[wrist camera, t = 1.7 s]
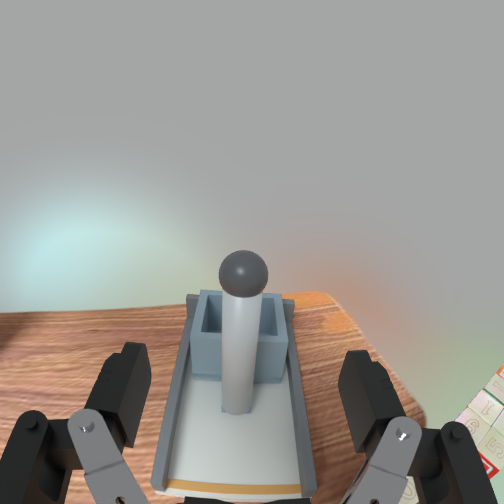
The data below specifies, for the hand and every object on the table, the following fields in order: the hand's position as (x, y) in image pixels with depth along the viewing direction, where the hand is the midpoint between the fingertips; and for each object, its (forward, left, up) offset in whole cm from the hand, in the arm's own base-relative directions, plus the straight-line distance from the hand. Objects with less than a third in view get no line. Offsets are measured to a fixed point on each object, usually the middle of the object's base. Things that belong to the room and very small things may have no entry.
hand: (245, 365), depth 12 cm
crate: (0, +17, -19) cm, 26 cm away
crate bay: (0, +14, -20) cm, 25 cm away
